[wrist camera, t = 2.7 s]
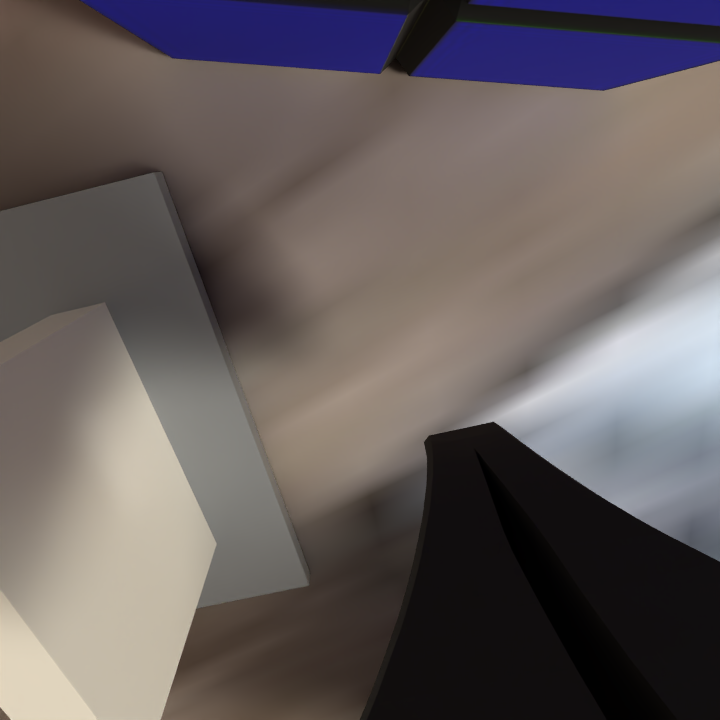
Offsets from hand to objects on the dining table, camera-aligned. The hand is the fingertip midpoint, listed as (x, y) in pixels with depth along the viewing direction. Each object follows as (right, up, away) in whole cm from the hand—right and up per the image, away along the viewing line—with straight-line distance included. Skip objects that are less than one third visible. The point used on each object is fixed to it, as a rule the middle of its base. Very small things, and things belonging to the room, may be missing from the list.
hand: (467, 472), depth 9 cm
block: (-8, 0, +4) cm, 9 cm away
